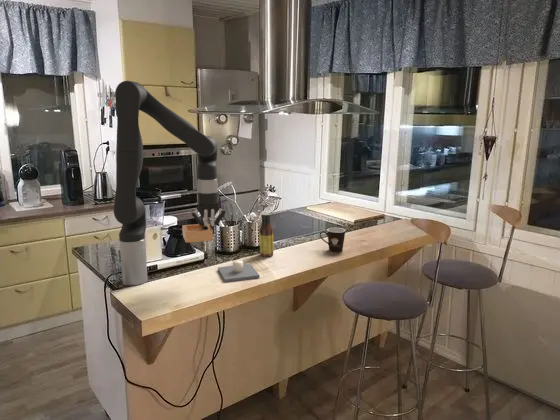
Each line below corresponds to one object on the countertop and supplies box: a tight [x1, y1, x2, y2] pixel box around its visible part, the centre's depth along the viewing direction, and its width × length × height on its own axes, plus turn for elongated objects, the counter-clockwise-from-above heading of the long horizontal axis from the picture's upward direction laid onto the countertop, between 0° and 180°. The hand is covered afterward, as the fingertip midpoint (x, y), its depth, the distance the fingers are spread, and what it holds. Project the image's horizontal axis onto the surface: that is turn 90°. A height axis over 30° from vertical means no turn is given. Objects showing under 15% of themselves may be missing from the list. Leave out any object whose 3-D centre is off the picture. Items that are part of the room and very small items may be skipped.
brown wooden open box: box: [181, 222, 214, 243], centre depth 164 cm, size 10×10×4 cm
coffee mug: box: [319, 227, 347, 253], centre depth 209 cm, size 12×9×10 cm
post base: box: [217, 259, 260, 283], centre depth 177 cm, size 14×14×5 cm
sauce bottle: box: [259, 212, 275, 258], centre depth 199 cm, size 7×6×20 cm
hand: (209, 235), depth 166 cm, fingers closed on brown wooden open box, 1 cm apart
